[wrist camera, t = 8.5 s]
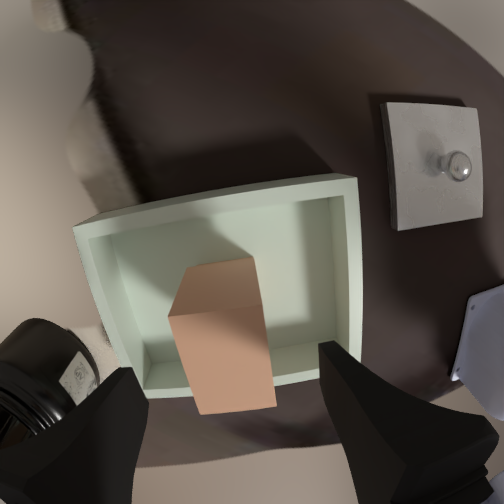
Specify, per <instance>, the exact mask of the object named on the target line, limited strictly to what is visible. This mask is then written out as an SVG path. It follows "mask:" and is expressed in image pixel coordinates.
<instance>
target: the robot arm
mask: <svg viewBox="0 0 504 504" xmlns="http://www.w3.org/2000/svg"><path fill="white" fill-rule="evenodd" d="M318 353H319V378H320V386H321V390H322V394H323V397H324V401H325V405H326V407H327V410H328V412H329V414H330V417H331V419H332V422H333V424H334V426H335V429H336V431H337V434H338V436H339V438H340V441H341V443H342V446H343V448H344V451H345V453H346V456H347V460H348V463H349V467H350V471H351V474H352V478H353V482H354V486H355V490H356V494H357V499H358V503H359V504H504V470H503V471H502V472H500V473H499V474H498V475H496V476H495V477H494V478H492V479H491V480H490V481H489V482H488V480H487V479H486V477H485V476H486V475H487V474H488V470H487V469H486V467H485V465H484V464H485V463H486V461H487V460H488V458H489V457H490V455H491V454H492V452H493V451H494V450H495V448H496V446H497V444H498V441H499V435H498V433H497V432H496V430H495V429H494V428H493V426H492V425H491V423H490V422H489V421H488V420H487V419H486V418H485V417H484V416H482V415H476V414H469V413H464V412H459V411H455V410H451V409H447V408H444V407H440V406H437V405H434V404H432V403H429V402H426V401H424V400H421V399H419V398H416V397H414V396H412V395H410V394H408V393H406V392H404V391H402V390H400V389H398V388H396V387H395V386H393V385H391V384H390V383H388V382H386V381H385V380H383V379H382V378H380V377H379V376H377V375H376V374H375V373H373V372H372V371H370V370H369V369H368V368H367V367H365V366H364V365H363V364H361V363H360V362H359V361H358V360H356V359H355V358H354V357H353V356H352V355H351V354H349V353H348V352H347V351H346V350H345V349H344V348H343V347H342V346H340V345H339V344H338V343H337V342H336V341H334V340H332V341H327V342H323V343H318ZM450 378H451V380H452V381H454V380H457V379H460V380H461V381H462V382H463V384H464V385H465V386H466V387H467V388H468V389H469V391H470V392H471V393H472V395H473V396H474V397H475V398H476V399H477V401H478V402H479V403H480V404H481V406H482V407H483V408H484V409H485V411H486V412H487V413H488V414H490V415H491V416H492V417H494V418H496V419H499V420H503V421H504V284H503V285H501V286H498V287H495V288H493V289H490V290H487V291H484V292H481V293H479V294H476V295H473V296H471V297H470V298H469V300H468V304H467V309H466V315H465V320H464V325H463V330H462V334H461V339H460V343H459V347H458V351H457V355H456V359H455V363H454V366H453V370H452V373H451V377H450ZM148 408H149V402H148V400H147V398H146V396H145V394H144V392H143V390H142V388H141V386H140V383H139V381H138V379H137V377H136V375H135V372H134V370H133V368H132V367H119V368H118V369H116V370H115V371H114V372H113V373H112V374H111V375H110V376H108V377H107V378H106V379H105V380H104V381H103V382H102V383H101V384H100V385H99V386H98V387H97V388H96V389H95V390H94V391H93V392H92V393H91V394H90V395H88V396H87V397H86V398H85V399H84V400H83V401H82V402H81V403H80V404H78V405H77V406H76V407H75V408H74V409H73V410H71V411H70V412H69V413H68V414H67V415H65V416H64V417H63V418H61V419H60V420H59V421H57V422H56V423H54V424H53V425H51V426H50V427H48V428H47V429H45V430H43V431H41V432H40V433H38V434H36V435H34V436H33V437H31V438H29V439H27V440H25V441H22V442H20V443H18V444H15V445H13V446H10V447H7V448H4V449H1V450H0V499H2V500H3V501H4V502H5V503H6V504H131V502H132V488H133V477H134V472H135V467H136V463H137V459H138V455H139V451H140V447H141V444H142V440H143V436H144V432H145V428H146V424H147V417H148Z"/></svg>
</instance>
